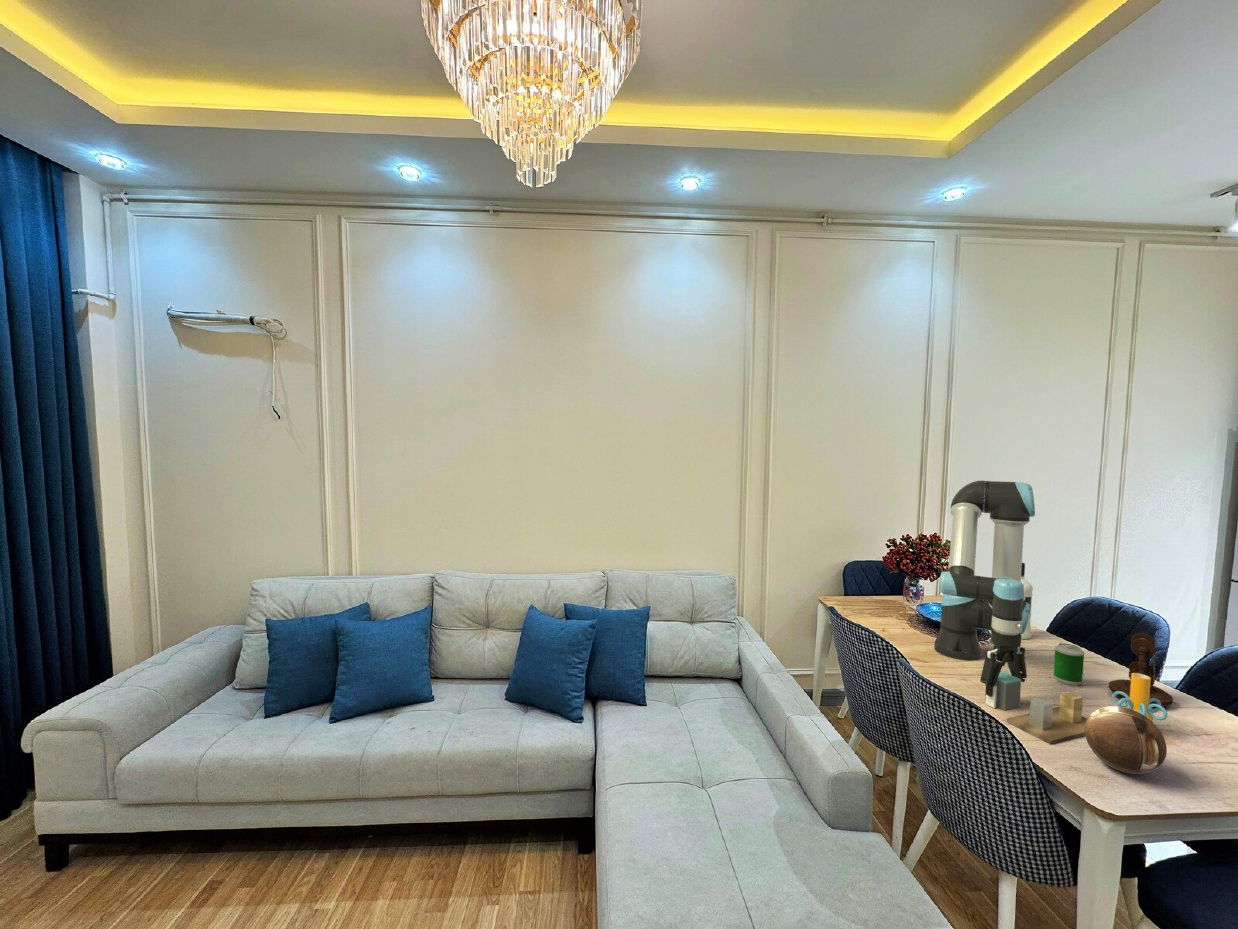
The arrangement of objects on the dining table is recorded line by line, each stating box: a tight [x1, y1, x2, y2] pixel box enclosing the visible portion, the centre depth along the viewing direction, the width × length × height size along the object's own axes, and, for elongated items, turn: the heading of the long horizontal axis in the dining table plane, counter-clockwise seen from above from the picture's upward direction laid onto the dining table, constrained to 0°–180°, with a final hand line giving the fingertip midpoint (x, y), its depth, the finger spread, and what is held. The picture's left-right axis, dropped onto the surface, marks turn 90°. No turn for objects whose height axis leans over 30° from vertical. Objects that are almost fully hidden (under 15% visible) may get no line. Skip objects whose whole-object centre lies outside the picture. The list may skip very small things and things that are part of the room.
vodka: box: [1021, 562, 1034, 640], centre depth 226 cm, size 9×9×30 cm
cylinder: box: [1111, 673, 1168, 723], centre depth 157 cm, size 12×10×15 cm
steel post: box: [1029, 697, 1054, 731], centre depth 156 cm, size 4×4×7 cm
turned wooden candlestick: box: [1107, 632, 1174, 711], centre depth 174 cm, size 15×15×20 cm
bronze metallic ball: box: [1085, 705, 1168, 775], centre depth 139 cm, size 15×15×15 cm
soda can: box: [1053, 642, 1085, 687], centre depth 186 cm, size 8×8×12 cm
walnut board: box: [1006, 691, 1088, 745], centre depth 158 cm, size 12×22×8 cm, turn 109°
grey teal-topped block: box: [984, 670, 1022, 711], centre depth 171 cm, size 6×6×9 cm
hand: (1002, 703), depth 171 cm, fingers open, 9 cm apart
